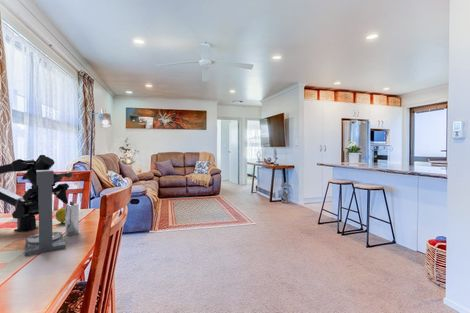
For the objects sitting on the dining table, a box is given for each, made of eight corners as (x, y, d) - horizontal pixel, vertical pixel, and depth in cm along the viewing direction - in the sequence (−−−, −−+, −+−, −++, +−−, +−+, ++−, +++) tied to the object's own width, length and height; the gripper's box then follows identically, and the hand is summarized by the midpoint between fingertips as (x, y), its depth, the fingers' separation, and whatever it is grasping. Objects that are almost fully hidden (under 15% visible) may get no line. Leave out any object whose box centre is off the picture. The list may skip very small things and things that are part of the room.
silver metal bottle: (62, 235, 112) (62, 202, 111) (71, 231, 117) (71, 200, 116) (73, 236, 111) (72, 203, 111) (81, 232, 116) (81, 200, 116)
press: (26, 241, 105) (25, 168, 104) (68, 234, 114) (68, 166, 113) (24, 257, 90) (23, 172, 89) (73, 247, 99) (73, 170, 98)
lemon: (54, 225, 126) (54, 209, 126) (56, 222, 131) (56, 206, 131) (68, 223, 129) (68, 207, 129) (69, 220, 134) (69, 205, 134)
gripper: (27, 169, 107) (49, 197, 105) (65, 166, 125) (85, 190, 123) (13, 187, 109) (34, 215, 107) (52, 182, 127) (71, 205, 125)
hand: (58, 205), depth 115 cm, fingers open, 9 cm apart
